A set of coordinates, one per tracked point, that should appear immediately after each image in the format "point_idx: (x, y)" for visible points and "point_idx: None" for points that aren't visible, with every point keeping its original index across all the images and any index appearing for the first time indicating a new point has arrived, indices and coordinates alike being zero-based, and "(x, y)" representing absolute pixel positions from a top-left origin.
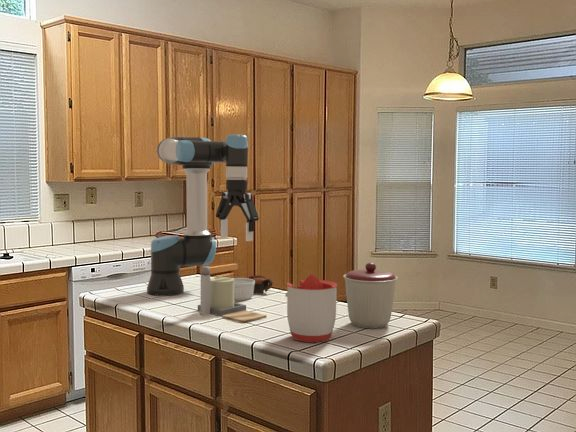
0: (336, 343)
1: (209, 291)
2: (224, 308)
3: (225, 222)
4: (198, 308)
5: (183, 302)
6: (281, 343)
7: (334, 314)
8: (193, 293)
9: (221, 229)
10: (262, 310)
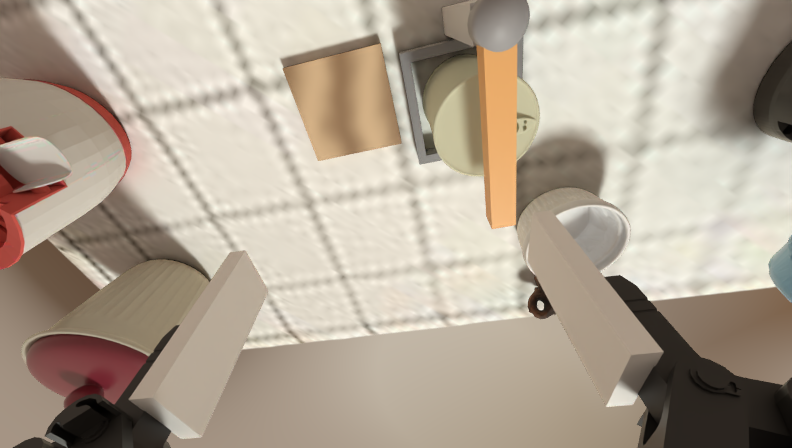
0: None
1: (457, 35)
2: (428, 88)
3: (595, 355)
4: None
5: (654, 45)
6: (24, 28)
7: None
8: (713, 146)
9: (573, 259)
10: (393, 191)
